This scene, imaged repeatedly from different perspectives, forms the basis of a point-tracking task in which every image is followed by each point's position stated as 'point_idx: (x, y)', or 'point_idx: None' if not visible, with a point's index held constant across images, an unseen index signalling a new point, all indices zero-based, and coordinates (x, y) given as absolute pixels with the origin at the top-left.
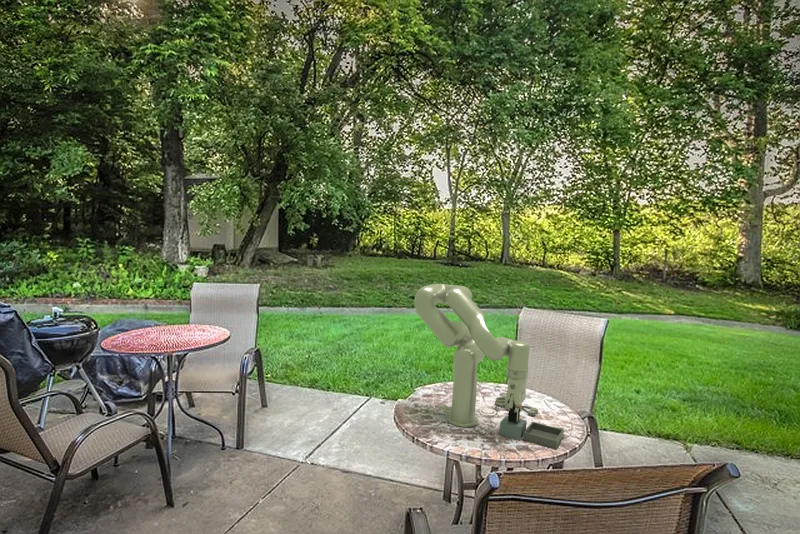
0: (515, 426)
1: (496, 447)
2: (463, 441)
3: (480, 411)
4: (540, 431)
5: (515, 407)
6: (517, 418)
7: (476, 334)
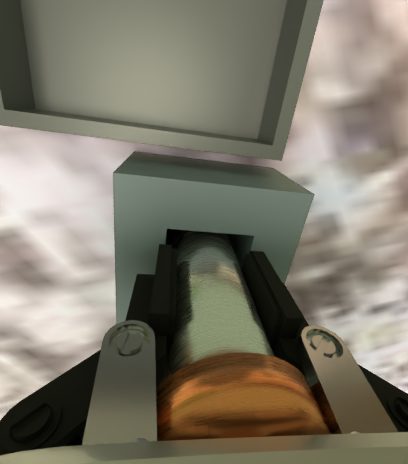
0: (297, 236)
1: (396, 257)
2: (367, 362)
3: (20, 400)
4: (48, 26)
5: (376, 408)
6: (221, 260)
7: None
